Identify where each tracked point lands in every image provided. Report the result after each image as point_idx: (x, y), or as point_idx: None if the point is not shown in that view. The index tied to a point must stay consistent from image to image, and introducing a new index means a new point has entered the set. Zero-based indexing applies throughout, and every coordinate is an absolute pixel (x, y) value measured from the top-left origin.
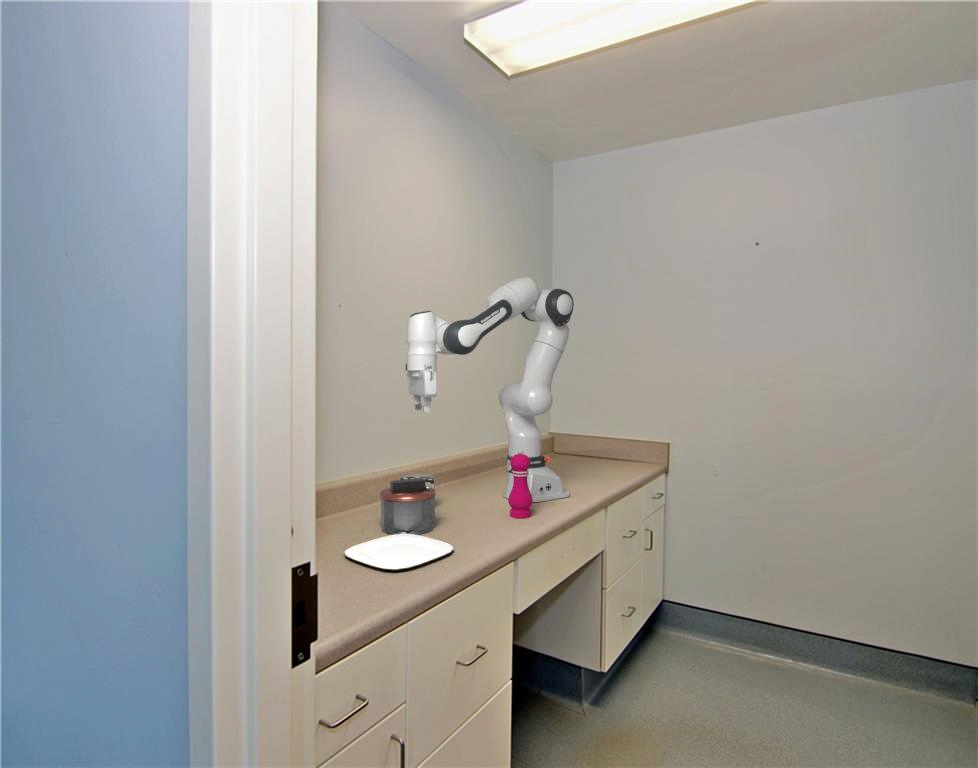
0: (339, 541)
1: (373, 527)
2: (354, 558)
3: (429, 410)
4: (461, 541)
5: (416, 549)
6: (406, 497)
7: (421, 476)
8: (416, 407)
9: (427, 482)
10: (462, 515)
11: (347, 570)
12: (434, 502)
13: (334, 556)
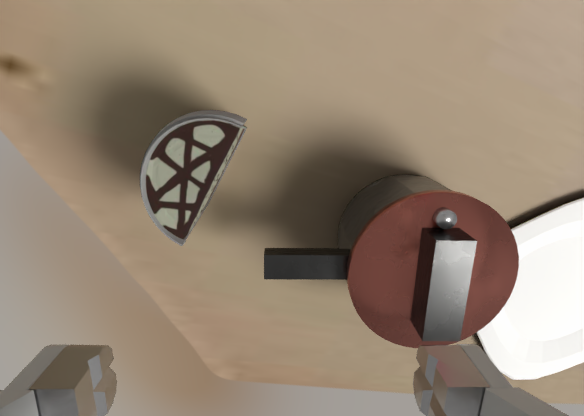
0: None
1: (351, 301)
2: (561, 370)
3: (480, 354)
4: (558, 151)
5: (560, 258)
6: (507, 297)
7: (151, 153)
8: (100, 413)
9: (229, 150)
10: (345, 62)
11: (579, 377)
12: (451, 190)
13: None
